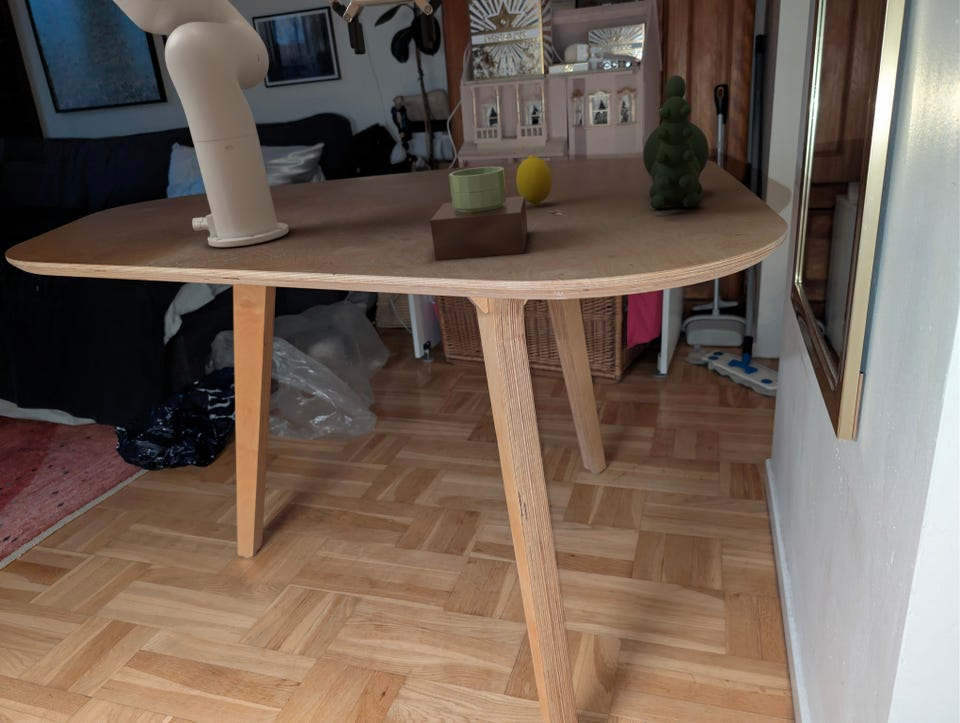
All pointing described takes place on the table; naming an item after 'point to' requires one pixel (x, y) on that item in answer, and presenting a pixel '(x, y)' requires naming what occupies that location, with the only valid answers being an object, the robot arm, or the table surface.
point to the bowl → (478, 189)
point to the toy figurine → (675, 152)
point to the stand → (480, 231)
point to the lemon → (533, 180)
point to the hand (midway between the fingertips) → (394, 51)
